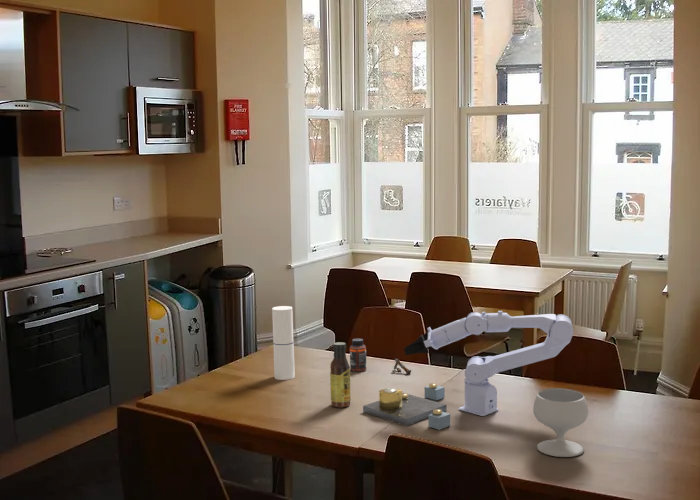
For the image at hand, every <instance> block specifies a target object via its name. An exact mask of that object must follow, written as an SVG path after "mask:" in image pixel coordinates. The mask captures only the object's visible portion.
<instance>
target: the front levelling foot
mask: <svg viewBox="0 0 700 500" xmlns="http://www.w3.org/2000/svg"><path fill="white" fill-rule="evenodd" d="M445 392H446V390H445V387H444V386H442V385H441V386H440V385H438V384H437V383H434V382H433V383H429V384H428V385H427V386H424V398H425V399H428V400H432V401H439V400H442V399H444V398H445Z"/></svg>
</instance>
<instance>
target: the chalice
mask: <svg viewBox="0 0 700 500" xmlns="http://www.w3.org/2000/svg"><path fill="white" fill-rule="evenodd" d="M532 411H533V414H534V417H535V419H536V420H537V421H538V422H539V423H541V424H542V425H544V426H546V427H547V428H549V429H552V430H553V432H554V433H555V434H556V439H553V438H552V439H547V440H543V441H540V442H539V443H538V444H537V445H536V449H537V450H538V451H539V452H540V453H542V454H545V455H548V456H553V457H559V458H570V457H571V458H572V457H577V456H579V455H582V454H583V453H584V452H585V449H584V447H583V446H582V445H581V444H579V443H577V442H575V441H571V440H567V439H565V438H564V437H565V435H566V433H567V432H568V431H570V430H572V429H574V428H577V427H579V426H581V425H583V424H584V423H585V422H586V421H587V419H588V417H589V407H588V402H587V400H586V397H585V395H584V394H583V393H582V392H581V391H578V390H574V389H569V388H561V387H559V388H557V387H555V388H554V387H552V388H544V389H543V390H540V391H539V392H538V393H537V394H536V396H535V399H534V402H533V409H532Z"/></svg>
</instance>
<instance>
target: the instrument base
mask: <svg viewBox="0 0 700 500" xmlns="http://www.w3.org/2000/svg"><path fill="white" fill-rule="evenodd" d="M378 398H379V399H378V400H376V401H373V402H371V403H368V404H367V403H366V404H365V405H362V412H363V413H364V414H368V415H370V416H374V417H377V418H381V419H384V420H387V421H389V422H393V423H396V424H399V423H400V424H399V425H403V426H405V425H406V426H407V427H408V426H410V424H411V425H413V424H415V423H418V422H420V421H424V420H426V419H427V420H428V415H430V414H433V410H435V409H440V410H442V412H445V413H446V412H447V410H448V409H447V408H448V407H447V404H445V403H443V402H438V401H436V400H432V399H429V398H425V397H420V396H416V395H413V394H410V393H407V392H403V390H402V389H399V388H395V387H386V388H382V389H380V390H378Z"/></svg>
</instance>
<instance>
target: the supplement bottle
mask: <svg viewBox="0 0 700 500" xmlns="http://www.w3.org/2000/svg"><path fill="white" fill-rule="evenodd" d="M351 343H352V344H351V345H349V362H350V363H349V367H350V371H352V372H359V373H360V372H364V371H366V370H367V346H366V345H365V344H364V339H363V338H353V339H352V340H351Z"/></svg>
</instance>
